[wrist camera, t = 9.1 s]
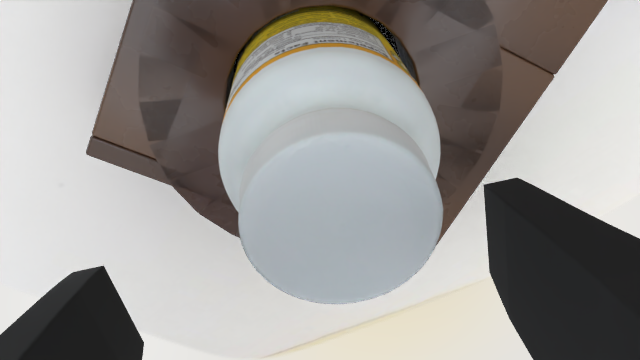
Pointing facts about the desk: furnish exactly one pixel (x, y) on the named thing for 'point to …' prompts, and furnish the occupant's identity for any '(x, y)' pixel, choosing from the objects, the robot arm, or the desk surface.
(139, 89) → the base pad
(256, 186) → the supplement bottle
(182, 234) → the desk surface
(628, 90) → the desk surface
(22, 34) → the desk surface
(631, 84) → the desk surface
